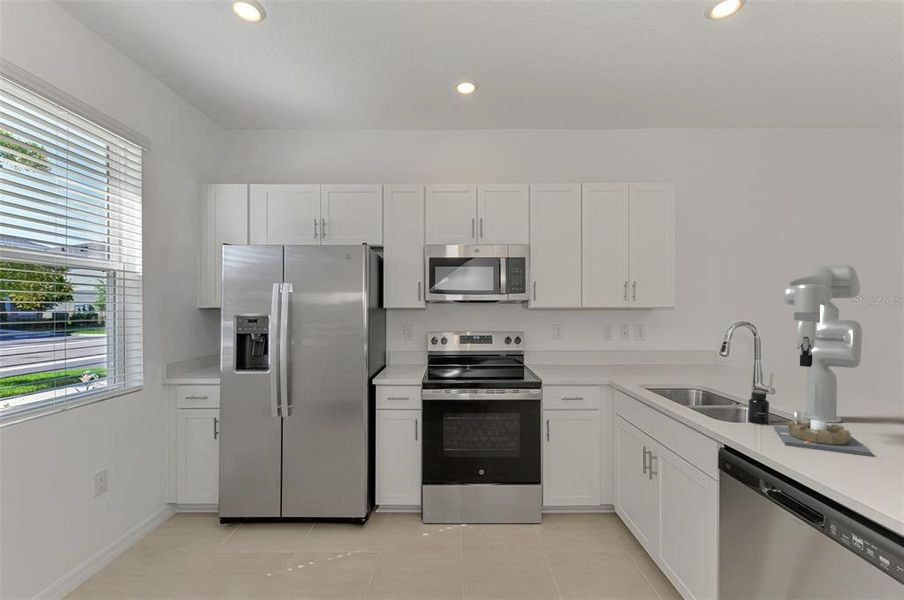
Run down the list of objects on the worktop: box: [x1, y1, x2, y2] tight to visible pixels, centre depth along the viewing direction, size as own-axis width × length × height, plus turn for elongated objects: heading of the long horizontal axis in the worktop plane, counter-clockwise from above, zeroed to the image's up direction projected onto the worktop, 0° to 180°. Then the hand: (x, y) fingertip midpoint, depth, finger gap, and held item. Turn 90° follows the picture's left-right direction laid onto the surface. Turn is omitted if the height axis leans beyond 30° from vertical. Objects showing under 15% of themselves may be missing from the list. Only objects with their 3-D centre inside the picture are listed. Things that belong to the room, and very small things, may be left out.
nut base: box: [773, 419, 873, 457], centre depth 156 cm, size 22×22×7 cm
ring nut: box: [788, 410, 851, 445], centre depth 156 cm, size 16×16×8 cm
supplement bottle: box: [747, 391, 770, 426], centre depth 180 cm, size 7×7×12 cm
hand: (806, 365), depth 163 cm, fingers open, 9 cm apart
